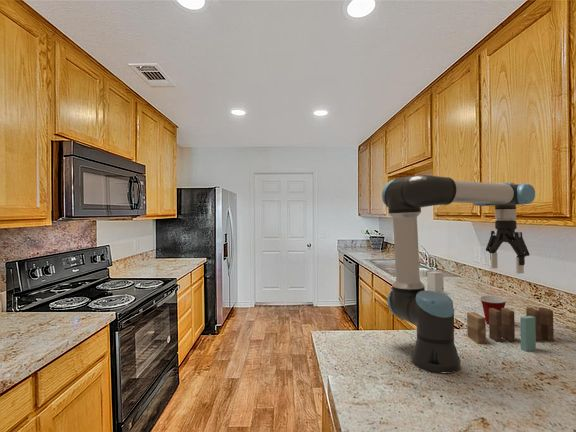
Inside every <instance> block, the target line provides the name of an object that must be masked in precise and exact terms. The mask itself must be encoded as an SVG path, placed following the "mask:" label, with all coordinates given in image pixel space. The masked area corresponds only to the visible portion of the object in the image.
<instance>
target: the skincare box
mask: <svg viewBox="0 0 576 432" xmlns="http://www.w3.org/2000/svg"><path fill="white" fill-rule="evenodd" d="M426 278H427V279H426V281H427V282H426V283H427V286H426V287H427V290H426V291H434V292H440V293H443V294H445V293H444V292H445V288H444V287H445V284H444V272H443V271H437V270H436V271H427V272H426Z"/></svg>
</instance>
